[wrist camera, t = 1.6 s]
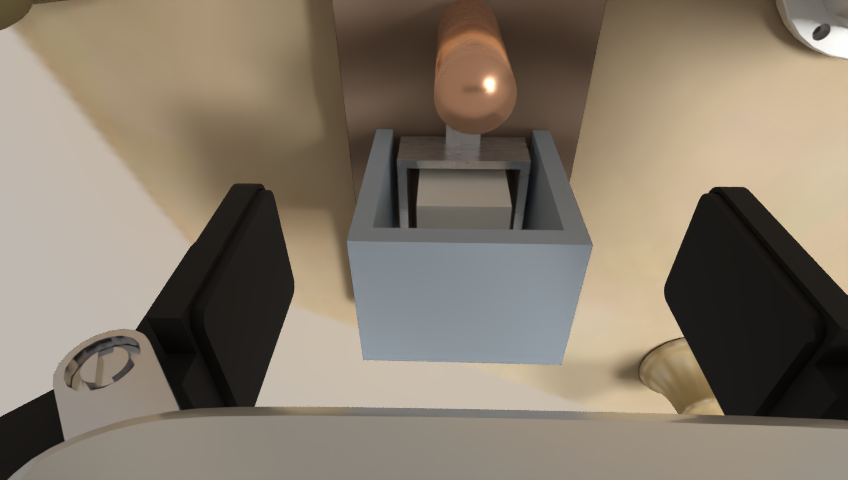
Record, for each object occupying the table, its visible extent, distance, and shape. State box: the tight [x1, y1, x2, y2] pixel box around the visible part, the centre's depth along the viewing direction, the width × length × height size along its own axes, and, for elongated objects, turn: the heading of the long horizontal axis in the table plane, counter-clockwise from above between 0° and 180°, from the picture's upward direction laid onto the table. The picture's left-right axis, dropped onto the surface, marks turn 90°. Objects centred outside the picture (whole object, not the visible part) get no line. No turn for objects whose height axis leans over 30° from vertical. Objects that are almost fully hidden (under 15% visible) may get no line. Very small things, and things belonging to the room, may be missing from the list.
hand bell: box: [639, 338, 724, 415], centre depth 39 cm, size 8×8×16 cm
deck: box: [332, 0, 606, 228], centre depth 30 cm, size 35×14×2 cm, turn 1°
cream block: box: [416, 168, 512, 230], centre depth 29 cm, size 5×5×6 cm
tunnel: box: [347, 129, 593, 365], centre depth 27 cm, size 8×10×11 cm
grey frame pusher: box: [397, 0, 531, 230], centre depth 25 cm, size 15×7×10 cm, turn 1°
